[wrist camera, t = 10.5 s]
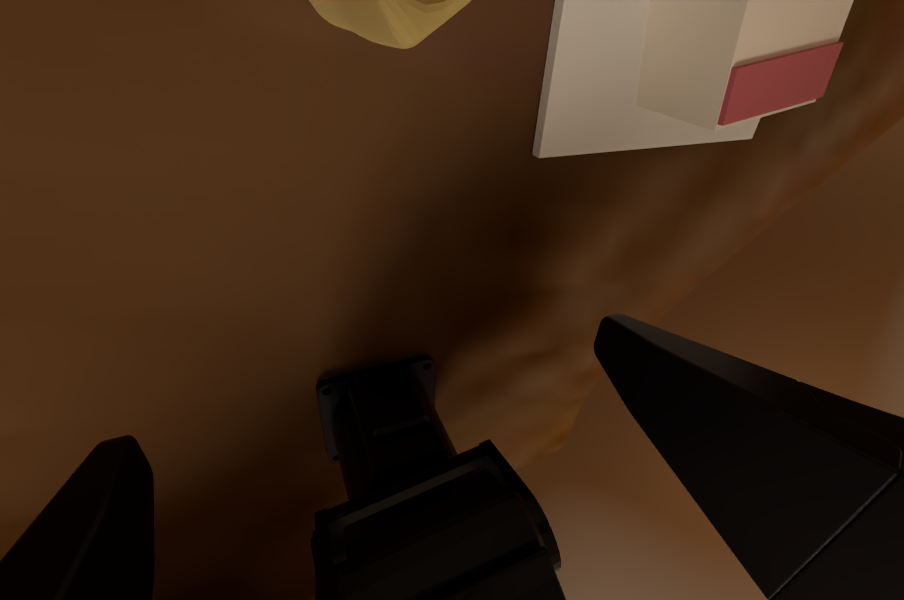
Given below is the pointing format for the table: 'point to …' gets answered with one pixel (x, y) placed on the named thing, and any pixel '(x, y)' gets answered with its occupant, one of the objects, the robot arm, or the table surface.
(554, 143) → the grey mat
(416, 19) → the cheese
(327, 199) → the table surface
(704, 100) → the card box
